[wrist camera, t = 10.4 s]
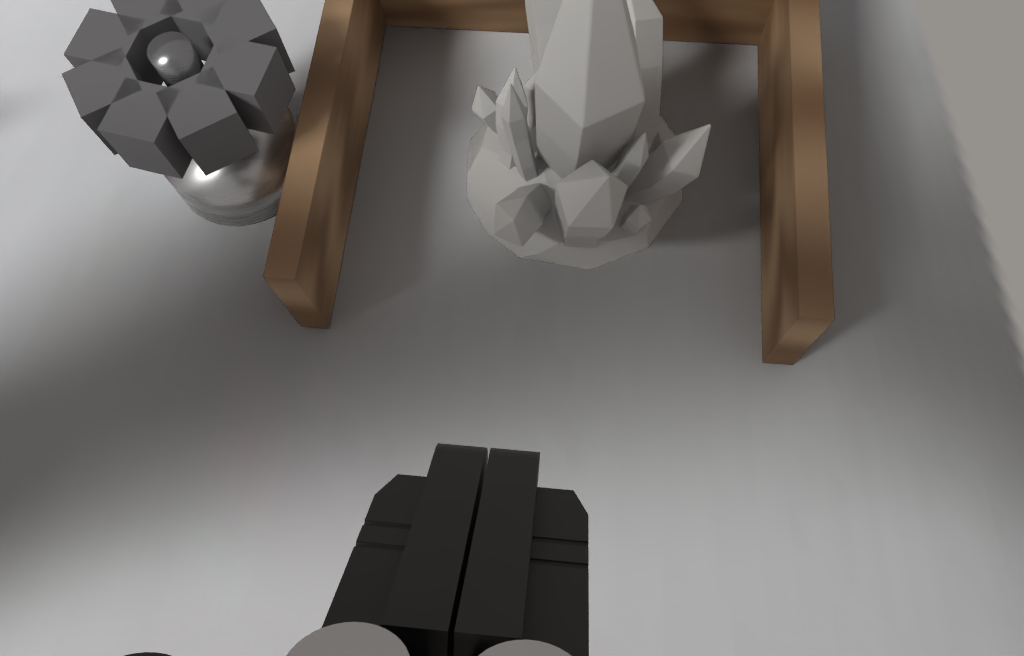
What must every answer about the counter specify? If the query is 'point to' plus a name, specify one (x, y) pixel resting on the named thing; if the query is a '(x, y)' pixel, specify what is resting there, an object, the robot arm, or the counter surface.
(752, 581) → the counter surface
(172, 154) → the wheel
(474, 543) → the robot arm
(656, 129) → the crystal
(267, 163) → the axle mount
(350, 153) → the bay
